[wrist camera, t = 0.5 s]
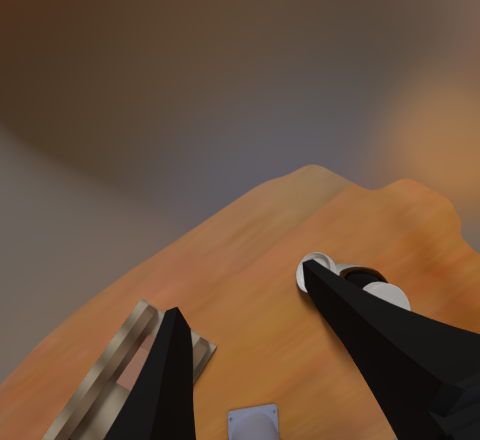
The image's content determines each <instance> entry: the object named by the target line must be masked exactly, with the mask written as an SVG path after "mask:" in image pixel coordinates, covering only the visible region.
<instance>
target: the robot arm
mask: <svg viewBox="0 0 480 440" xmlns="http://www.w3.org/2000/svg"><path fill="white" fill-rule="evenodd" d="M302 266H303V276H304V286H305V288H306V290H307V292H308V294H309V296H310V297H311V299H312V301H313V303H314V304H315V306H316V307H317V308H318V310H319V311H320V312H321V314H322V315H323V317H324V318H325V319H326V321H327V322H328V324H329V325H330V326H331V328H332V329H333V330H334V332H335V333H336V334H337V336H338V337H339V339H340V340H341V341H342V343H343V344H344V346H345V347H346V349H347V351H348V352H349V354H350V356H351V357H352V359H353V361H354V362H355V364H356V365H357V367H358V369H359V371H360V372H361V374H362V376H363V377H364V379H365V381H366V382H367V384H368V386H369V388H370V389H371V391H372V393H373V395H374V396H375V398H376V400H377V402H378V404H379V405H380V407H381V409H382V411H383V412H384V414H385V416H386V418H387V420H388V422H389V424H390V425H391V427H392V429H393V431H394V433H395V435H396V436H397V438H398V440H480V334H477V333H474V332H470V331H467V330H463V329H460V328H457V327H453V326H450V325H447V324H444V323H441V322H438V321H436V320H433V319H430V318H427V317H424V316H422V315H419V314H417V313H414V312H411V311H409V310H406V309H404V308H401V307H399V306H397V305H394V304H392V303H390V302H388V301H385V300H383V299H381V298H379V297H377V296H375V295H373V294H371V293H369V292H367V291H365V290H363V289H361V288H359V287H358V286H356V285H354V284H352V283H351V282H349V281H347V280H345V279H344V278H342V277H340V276H339V275H337V274H335V273H334V272H332V271H331V270H329V269H327V268H326V267H324V266H323V265H321V264H320V263H318V262H317V261H315V260H314V259H310V260H307V261H304V262H302ZM274 410H275V412H273V411H274ZM230 418H232V419H230ZM103 440H196V434H195V422H194V410H193V344H192V336H191V329H190V327H189V325H188V324H187V322H186V320H185V319H184V317H183V315H182V314H181V312H180V310H179V309H178V307H175V308H172V309H170V310H167V311H166V312H165V314H164V317H163V319H162V322H161V325H160V327H159V330H158V332H157V335H156V337H155V340H154V342H153V345H152V347H151V349H150V352H149V354H148V356H147V359H146V361H145V363H144V365H143V367H142V369H141V371H140V374H139V376H138V378H137V380H136V382H135V384H134V386H133V388H132V390H131V392H130V394H129V395H128V397H127V399H126V401H125V403H124V405H123V406H122V408H121V410H120V412H119V413H118V415H117V417H116V419H115V420H114V422H113V424H112V425H111V427H110V429H109V431H108V432H107V434H106V435H105V437H104V439H103ZM228 440H280V438H279V430H278V412H277V405H276V404H268V405H263V406H257V407H251V408H245V409H239V410H233V411H229V412H228Z"/></svg>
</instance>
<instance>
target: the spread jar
mask: <svg viewBox="0 0 480 440" xmlns="http://www.w3.org/2000/svg"><path fill="white" fill-rule="evenodd" d="M310 259H314V260H315V261H317V262H318V263H320V264H321V265H323V266H324V267H326V268H327V269H329V270H331V271H332V272H334V273H335V274H337V275H339V276H340V277H342V278H344V279H345V280H347V281H349V282H351V283H352V284H354V285H356V286H358V287H359V288H361V289H363V290H365V291H367V292H369V293H371V294H373V295H375V296H377V297H379V298H381V299H383V300H385V301H388V302H390V303H392V304H394V305H397V306H399V307H401V308H404V309H406V310H409V311H411V310H410V304H409V301H408V299H407V297H406V295H405V294H404V293H403V291H402V290H401V289H399V288H398V287H396V286H395V285H392V284H389V283H388V282H387V280H386V279H385V278H384V277H383V276H382V275H381V274H380V273H379V272H378V271H376V270H374V269H371V268H368V267H364V266H358V265H352V264H334V262H333V260H332V259H331V258H330V257H328V256H326V255H325V254H323V253H320V252H314V253H310V254H308V255H307V256H305V257H304V258H303V259H302V261H301V262H300V264H299V266H298V268H297V272H296V280H297V283H298V286H299V287H300V288H301V289H302V290H303V291H305V292H307V290H306V288H305V286H304V276H303V266H302V262H304V261H307V260H310ZM307 293H308V292H307Z"/></svg>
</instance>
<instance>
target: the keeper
mask: <svg viewBox="0 0 480 440" xmlns="http://www.w3.org/2000/svg"><path fill="white" fill-rule="evenodd" d="M154 340H155V337H153V336H152V335H150V334H148V336H147V337H146V339H145V340H144V341H143V343H142V344H141V346H140V347H139V349H138V350H137V352H136V353H135V355H134V356H133V358H132V359H131V361H130V362H129V364H128V365H127V367H126V368H125V370H124V371H123V373H122V374H121V376H120V377H119V379H118V380H117V382H116V383H118V384H120V385H121V386H123V387H125V388H127V389H128V390H130V391H131V390H132V388H133V386H134V384H135V382H136V380H137V378H138V376H139V374H140V371H141V369H142V367H143V365H144V363H145V361H146V359H147V356H148V354H149V352H150V349H151V347H152V345H153V342H154Z"/></svg>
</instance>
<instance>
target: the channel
mask: <svg viewBox="0 0 480 440" xmlns="http://www.w3.org/2000/svg"><path fill="white" fill-rule="evenodd" d="M164 314H165V313H164V312H163V311H161V310H160V309H158V308H157V307H155V306H153V305H152V304H150V303H149V302H147V301H145V300H144V299H141V300H140V301H139V303H138V304H137V305H136V307H135V308H134V310H133V311H132V312H131V314H130V315H129V317H128V318H127V319H126V321H125V322H124V324H123V325H122V327H121V328H120V329H119V331H118V332H117V334H116V335H115V336H114V338H113V339H112V341H111V342H110V343H109V345H108V346H107V348H106V349H105V351H104V352H103V353H102V355H101V356H100V358H99V359H98V360H97V362H96V363H95V365H94V366H93V367H92V369H91V370H90V372H89V373H88V375H87V376H86V377H85V379H84V380H83V382H82V383H81V384H80V386H79V387H78V389H77V390H76V391H75V393H74V394H73V396H72V397H71V399H70V400H69V401H68V403H67V404H66V406H65V407H64V408H63V410H62V411H61V413H60V414H59V415H58V417H57V418H56V420H55V421H54V423H53V424H52V425H51V427H50V428H49V430H48V431H47V432H46V434H45V435H44V437H43V438H42V440H103V439H104V437H105V435H106V434H107V432H108V431H109V429H110V427H111V425H112V424H113V422H114V420H115V419H116V417H117V415H118V413H119V412H120V410H121V408H122V406H123V405H124V403H125V401H126V399H127V397H128V395H129V394H130V392H131V391H130V390H128V389H127V388H125V387H123V386H121V385H120V384H118V383H116V382H117V380H118V379H119V377H120V376H121V374H122V373H123V371H124V370H125V368H126V367H127V365H128V364H129V362H130V361H131V359H132V358H133V356H134V355H135V353H136V352H137V350H138V349H139V347H140V346H141V344H142V343H143V341H144V340H145V339H146V337H147V336H148V334H150V335H152V336H153V337H156V335H157V332H158V330H159V327H160V325H161V322H162V319H163V317H164ZM191 336H192V344H193V384H194V382H195V381H196V379H197V377H198V376H199V374H200V372H201V371H202V369H203V367H204V366H205V364H206V363H207V361H208V359H209V358H210V356H211V354H212V353H213V351H214V350H215V348H216V344H214V343H212V342H211V341H209V340H208V339H206V338H204V337H203V336H201V335H200V334H198V333H196V332H195V331H193V330H192V329H191Z"/></svg>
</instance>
